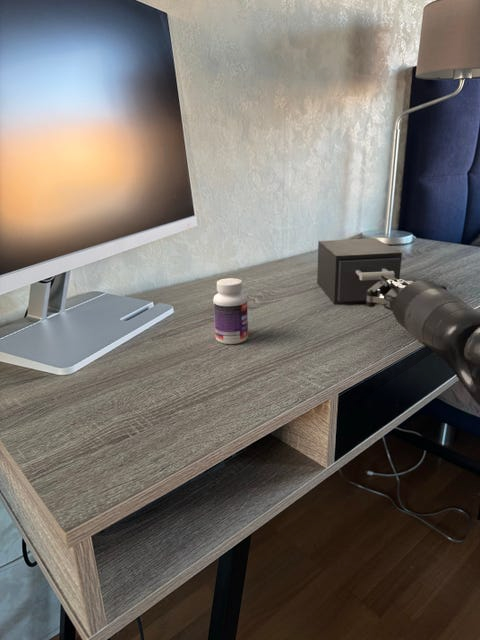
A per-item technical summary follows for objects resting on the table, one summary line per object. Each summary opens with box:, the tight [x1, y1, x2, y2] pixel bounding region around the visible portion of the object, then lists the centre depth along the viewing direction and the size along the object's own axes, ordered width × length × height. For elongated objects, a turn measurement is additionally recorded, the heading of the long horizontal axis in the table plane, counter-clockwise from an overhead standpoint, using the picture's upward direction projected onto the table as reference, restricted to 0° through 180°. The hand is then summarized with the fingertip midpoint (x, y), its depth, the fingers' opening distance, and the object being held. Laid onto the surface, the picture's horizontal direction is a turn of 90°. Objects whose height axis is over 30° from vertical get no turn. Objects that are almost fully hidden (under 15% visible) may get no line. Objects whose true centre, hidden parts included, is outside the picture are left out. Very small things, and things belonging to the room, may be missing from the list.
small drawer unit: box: [316, 237, 403, 305], centre depth 92 cm, size 15×13×10 cm
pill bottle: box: [212, 277, 249, 345], centre depth 71 cm, size 5×5×10 cm
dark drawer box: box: [337, 257, 402, 302], centre depth 88 cm, size 18×11×8 cm, turn 4°
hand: (385, 280), depth 76 cm, fingers closed
